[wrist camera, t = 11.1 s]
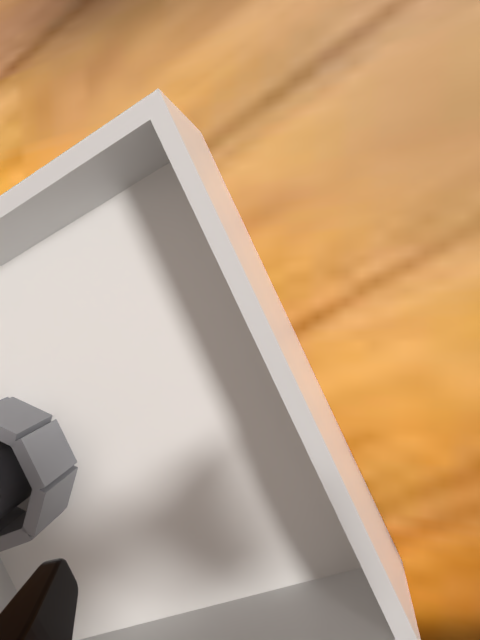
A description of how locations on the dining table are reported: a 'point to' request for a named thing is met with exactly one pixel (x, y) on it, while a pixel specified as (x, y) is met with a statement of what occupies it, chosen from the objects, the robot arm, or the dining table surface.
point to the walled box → (173, 410)
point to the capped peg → (11, 481)
